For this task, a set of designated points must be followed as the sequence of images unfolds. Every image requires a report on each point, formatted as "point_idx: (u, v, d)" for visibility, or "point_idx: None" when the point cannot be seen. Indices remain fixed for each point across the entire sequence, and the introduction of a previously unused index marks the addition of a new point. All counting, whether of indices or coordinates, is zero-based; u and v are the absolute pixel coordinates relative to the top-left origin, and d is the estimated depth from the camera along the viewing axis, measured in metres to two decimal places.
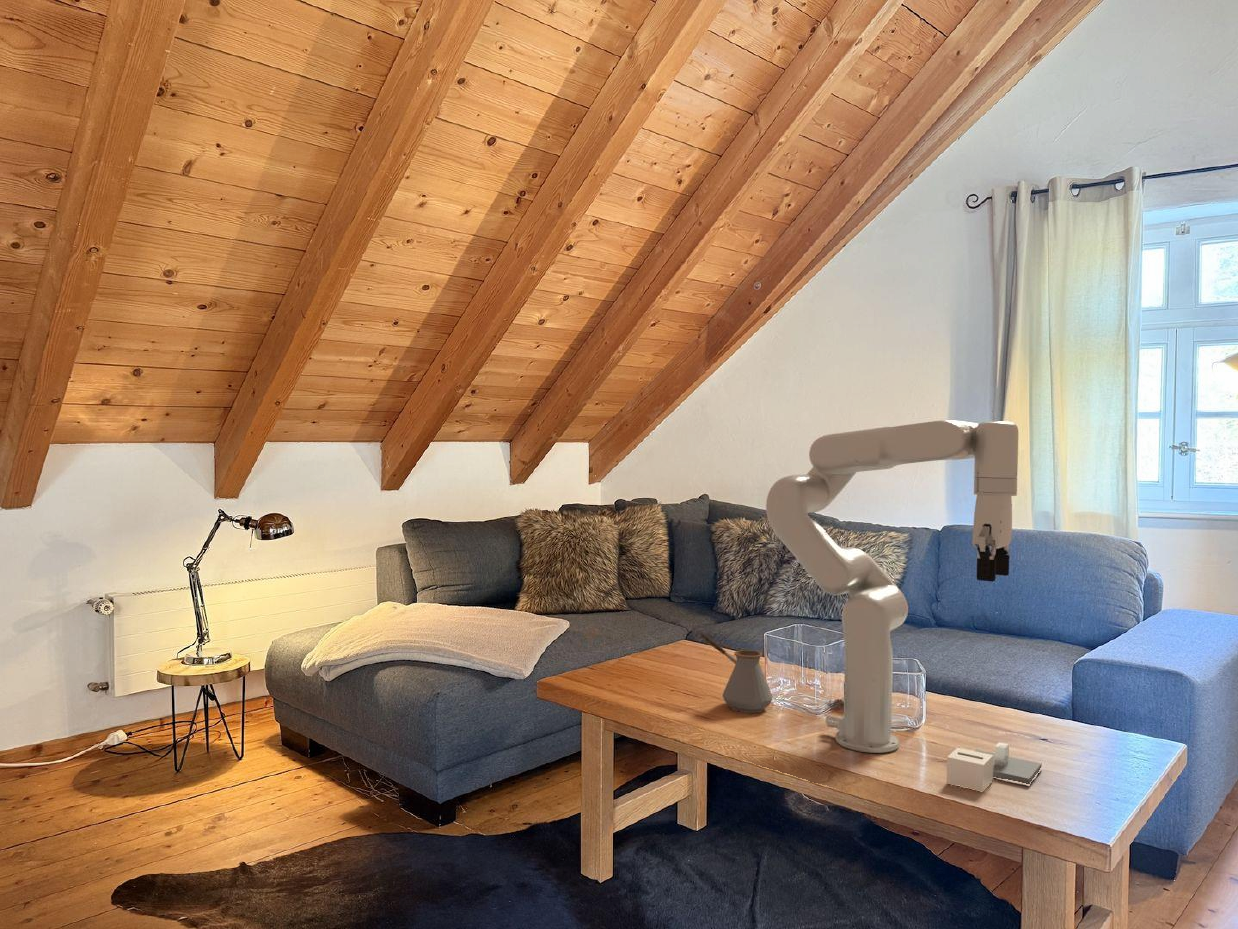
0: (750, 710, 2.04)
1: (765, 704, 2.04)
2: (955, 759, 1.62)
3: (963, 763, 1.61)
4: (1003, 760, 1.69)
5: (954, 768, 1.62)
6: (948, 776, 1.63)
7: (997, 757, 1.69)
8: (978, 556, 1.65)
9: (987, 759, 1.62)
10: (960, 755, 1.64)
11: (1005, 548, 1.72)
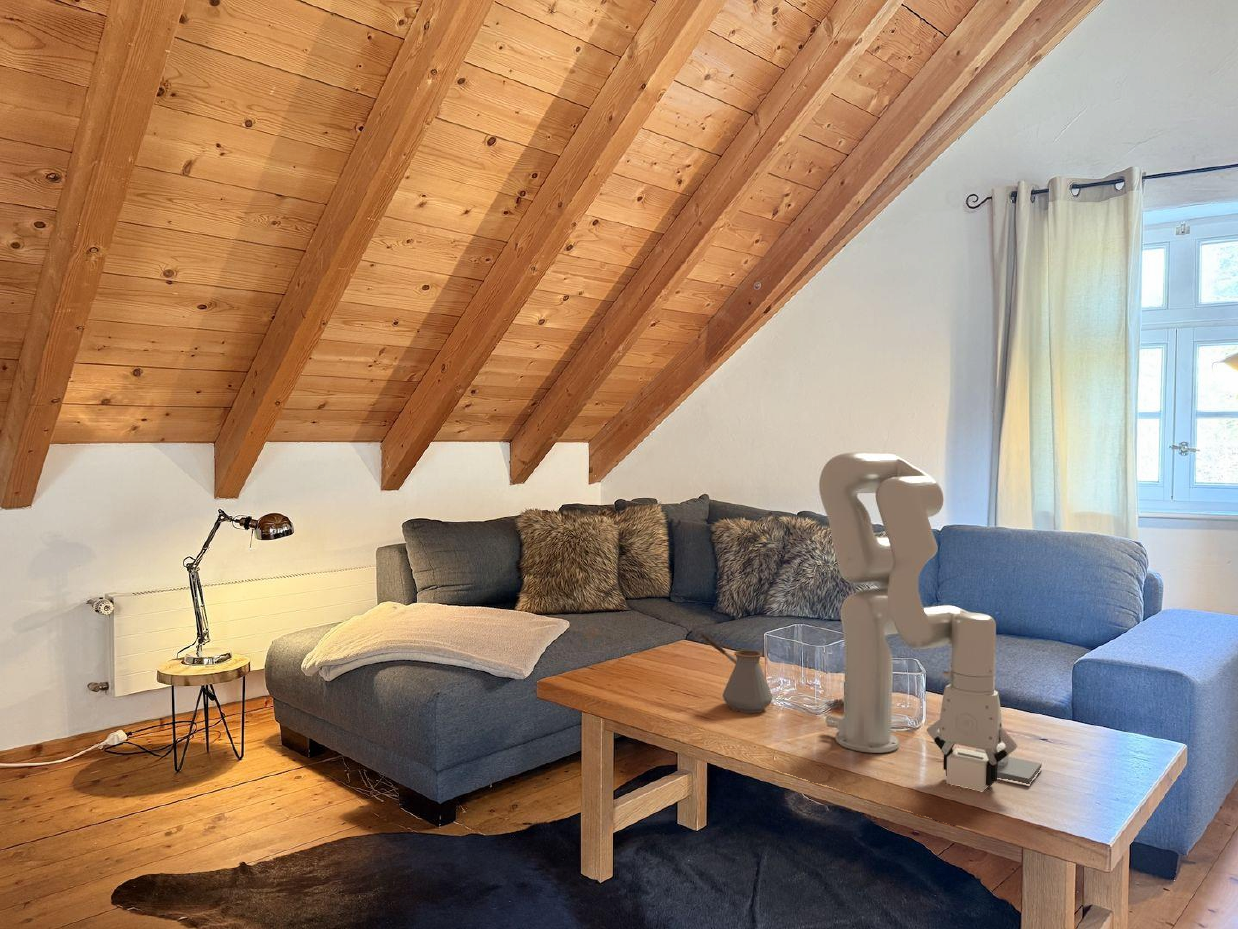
0: (750, 710, 2.04)
1: (765, 704, 2.04)
2: (955, 759, 1.62)
3: (963, 763, 1.61)
4: (1003, 760, 1.69)
5: (954, 768, 1.62)
6: (948, 776, 1.63)
7: None
8: (996, 763, 1.60)
9: (987, 759, 1.62)
10: (960, 755, 1.64)
11: (954, 743, 1.67)
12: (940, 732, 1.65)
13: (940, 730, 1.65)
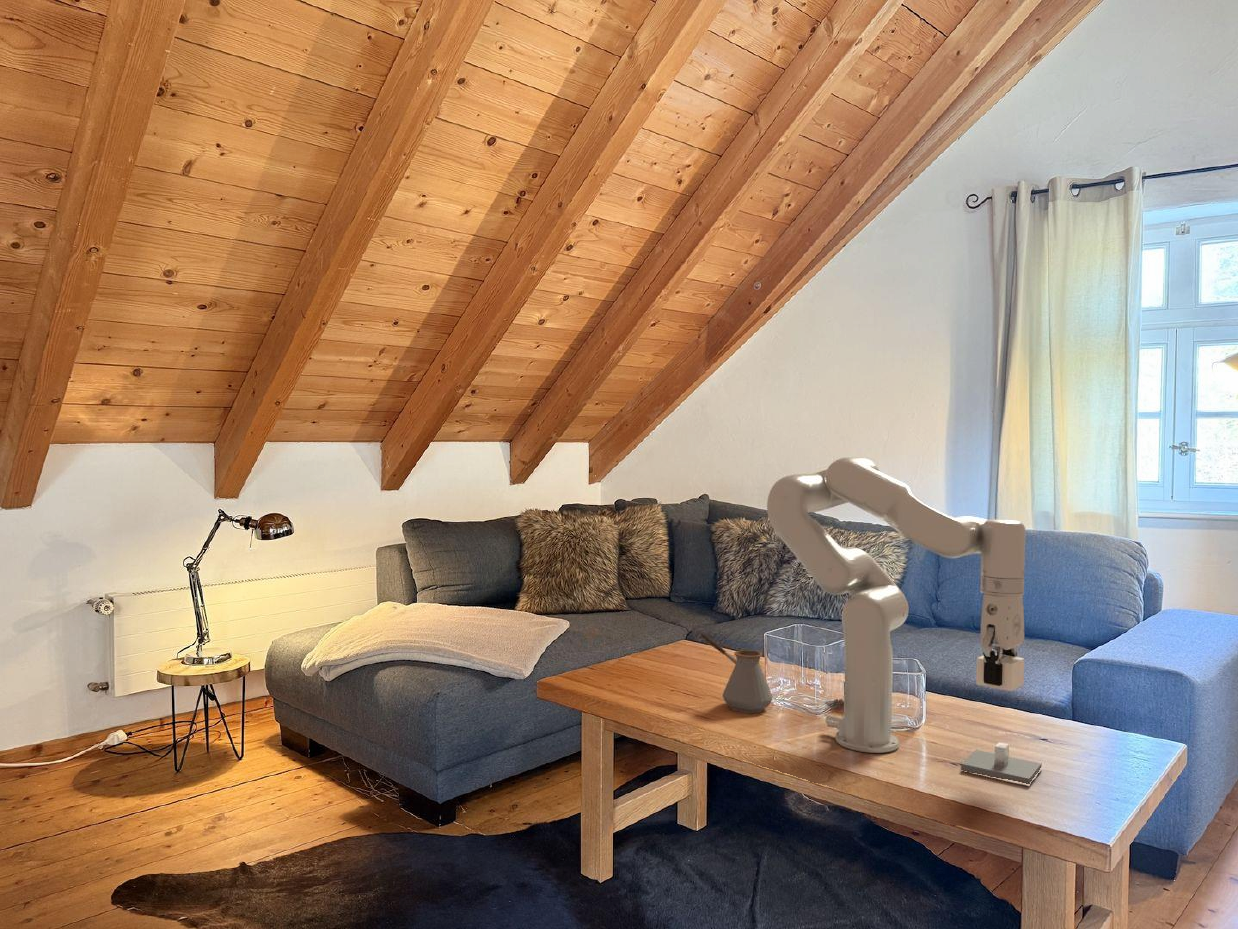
0: (750, 710, 2.04)
1: (765, 704, 2.04)
2: (1014, 663, 1.65)
3: (1017, 664, 1.66)
4: (1003, 760, 1.69)
5: (1014, 672, 1.65)
6: (1012, 682, 1.65)
7: (997, 757, 1.69)
8: None
9: (1005, 655, 1.71)
10: (1002, 660, 1.67)
11: None
12: (1005, 642, 1.64)
13: (1005, 640, 1.64)
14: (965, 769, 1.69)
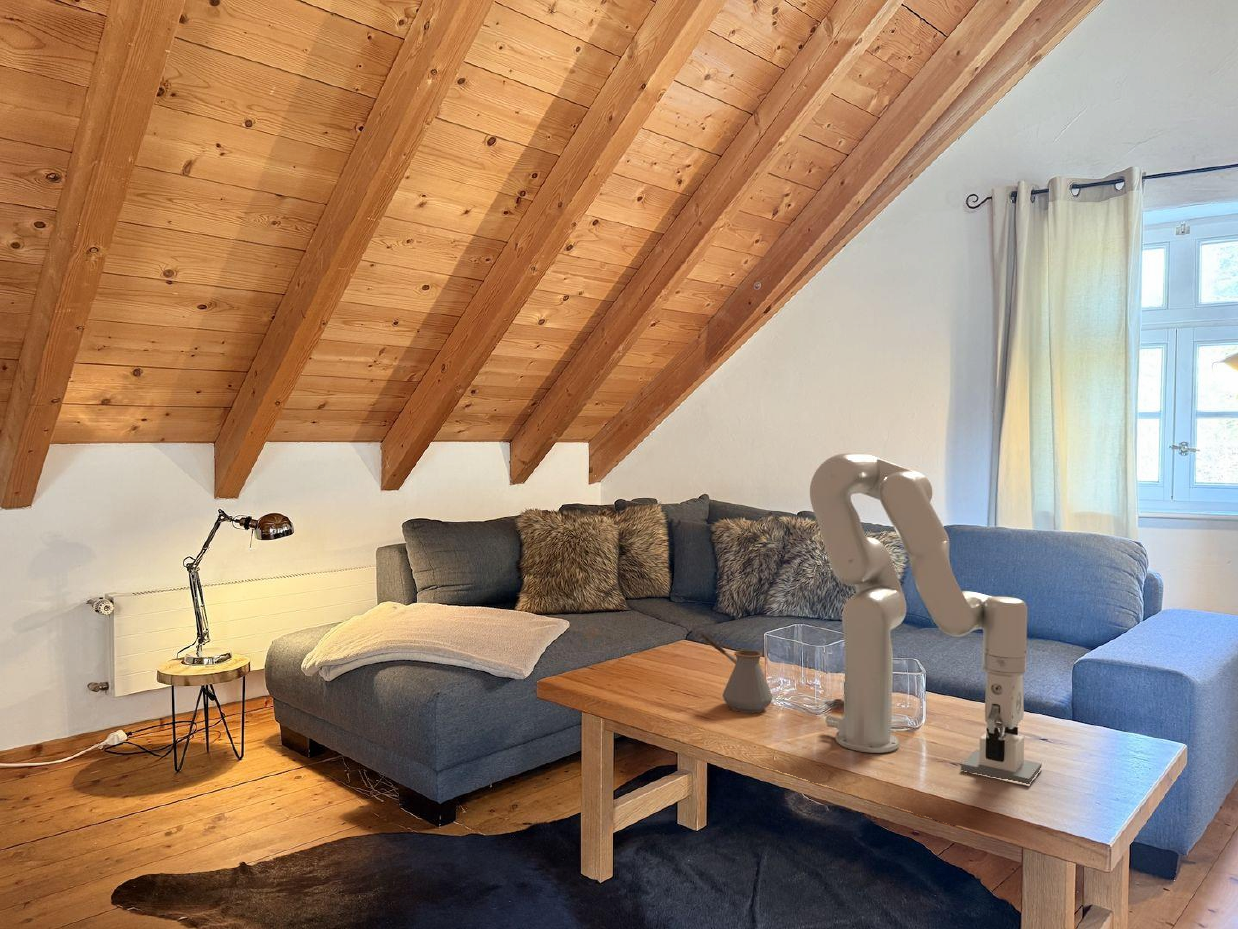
0: (750, 710, 2.04)
1: (765, 704, 2.04)
2: (1017, 744, 1.67)
3: (1019, 744, 1.68)
4: None
5: (1017, 753, 1.67)
6: (1015, 763, 1.66)
7: None
8: None
9: (1005, 733, 1.72)
10: None
11: None
12: (1010, 722, 1.65)
13: (1010, 720, 1.65)
14: (965, 769, 1.69)
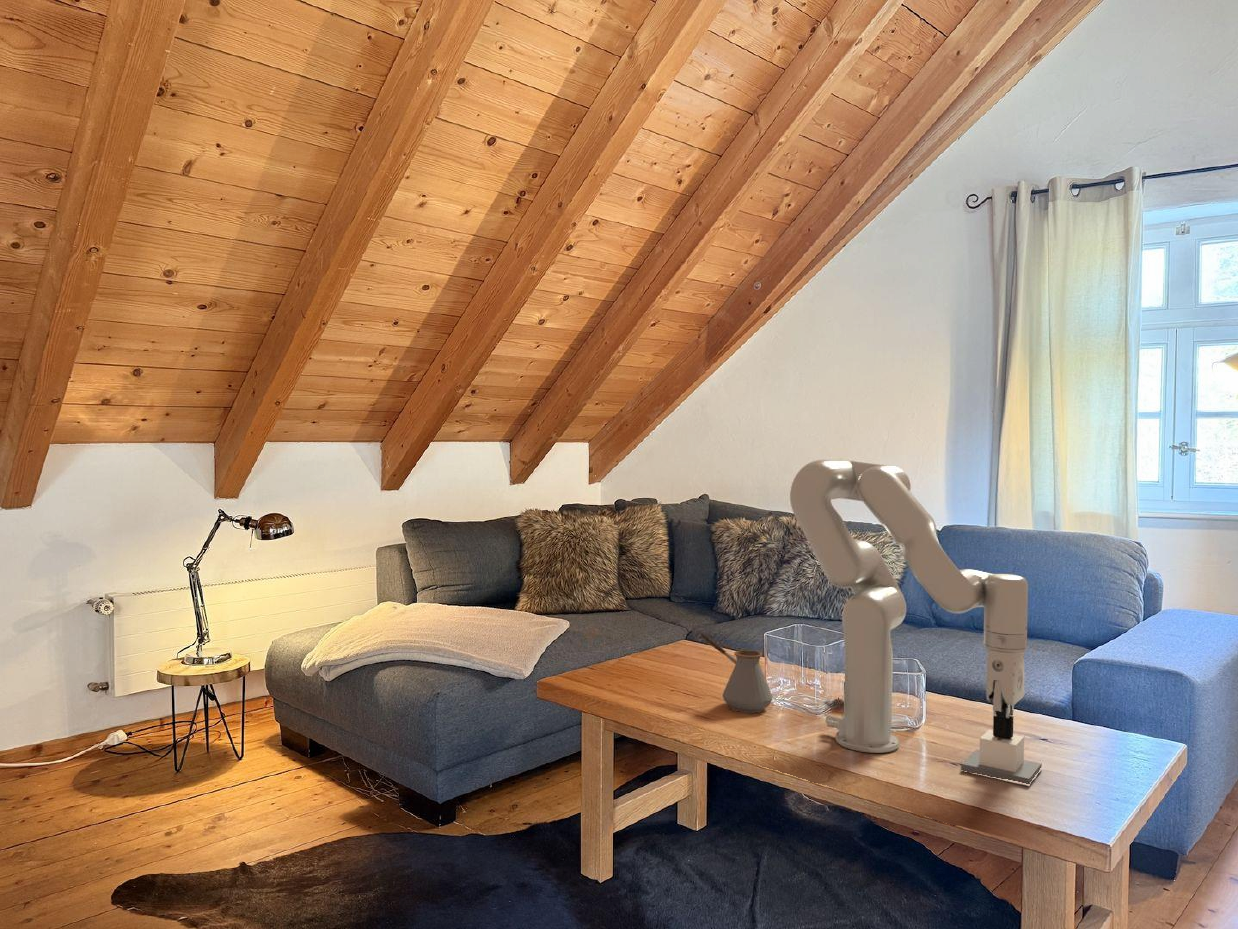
0: (750, 710, 2.04)
1: (765, 704, 2.04)
2: (1017, 744, 1.67)
3: (1019, 744, 1.68)
4: None
5: (1017, 753, 1.67)
6: (1015, 763, 1.66)
7: None
8: None
9: None
10: (1004, 740, 1.68)
11: None
12: (1012, 698, 1.64)
13: (1012, 696, 1.64)
14: (965, 769, 1.69)
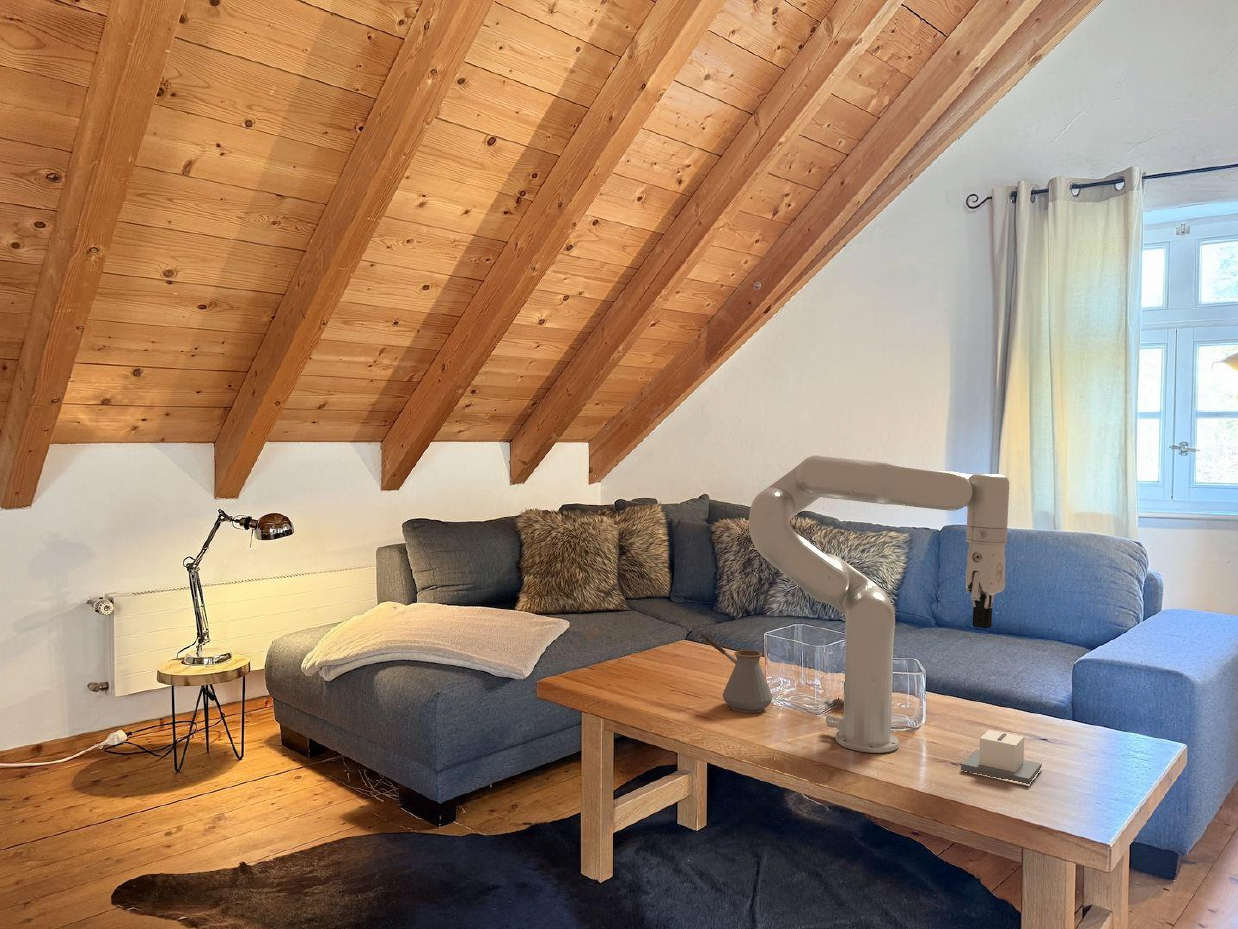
0: (750, 710, 2.04)
1: (765, 704, 2.04)
2: (1017, 744, 1.67)
3: (1019, 744, 1.68)
4: None
5: (1017, 753, 1.67)
6: (1015, 763, 1.66)
7: None
8: None
9: (1005, 733, 1.72)
10: (1004, 740, 1.68)
11: None
12: (989, 588, 1.74)
13: (989, 586, 1.74)
14: (965, 769, 1.69)
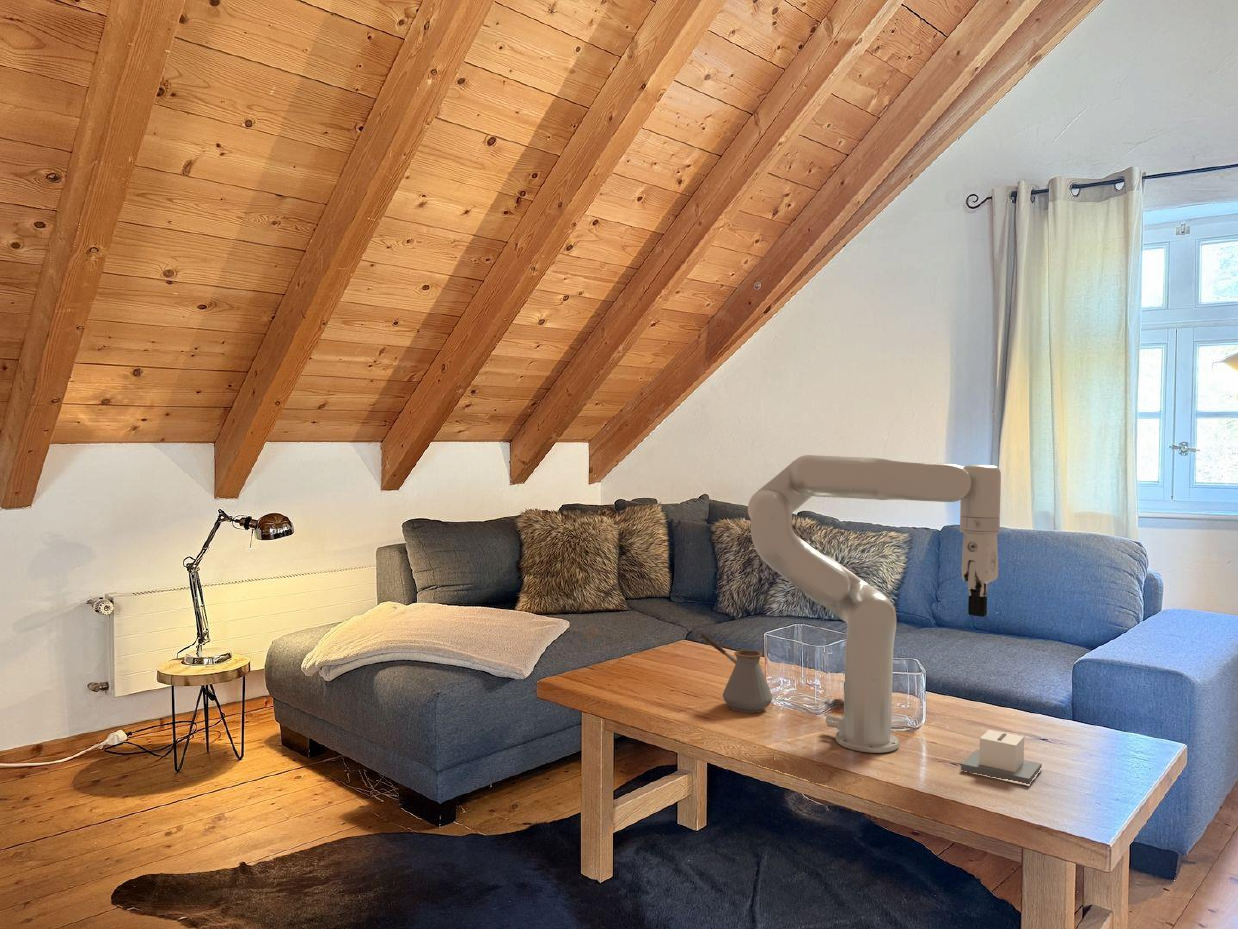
0: (750, 710, 2.04)
1: (765, 704, 2.04)
2: (1017, 744, 1.67)
3: (1019, 744, 1.68)
4: None
5: (1017, 753, 1.67)
6: (1015, 763, 1.66)
7: None
8: None
9: (1005, 733, 1.72)
10: (1004, 740, 1.68)
11: None
12: (985, 576, 1.78)
13: (985, 574, 1.78)
14: (965, 769, 1.69)
